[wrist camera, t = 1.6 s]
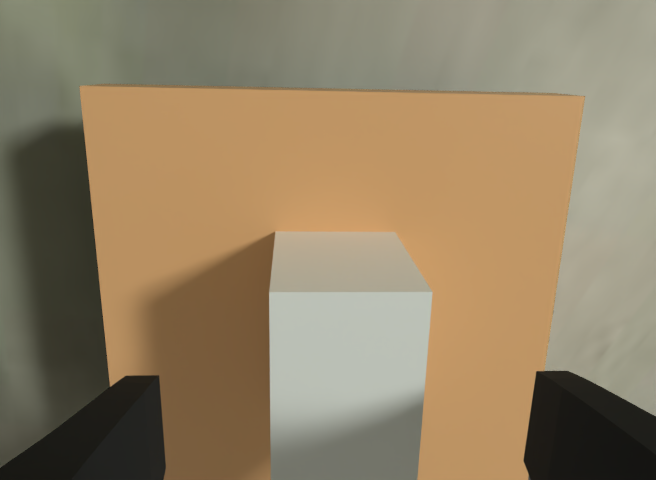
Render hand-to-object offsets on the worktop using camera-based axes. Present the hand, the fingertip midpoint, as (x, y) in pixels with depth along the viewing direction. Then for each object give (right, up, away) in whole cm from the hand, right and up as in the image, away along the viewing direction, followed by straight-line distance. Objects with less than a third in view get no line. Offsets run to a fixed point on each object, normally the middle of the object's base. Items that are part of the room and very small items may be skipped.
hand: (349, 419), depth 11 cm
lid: (0, +1, +5) cm, 5 cm away
